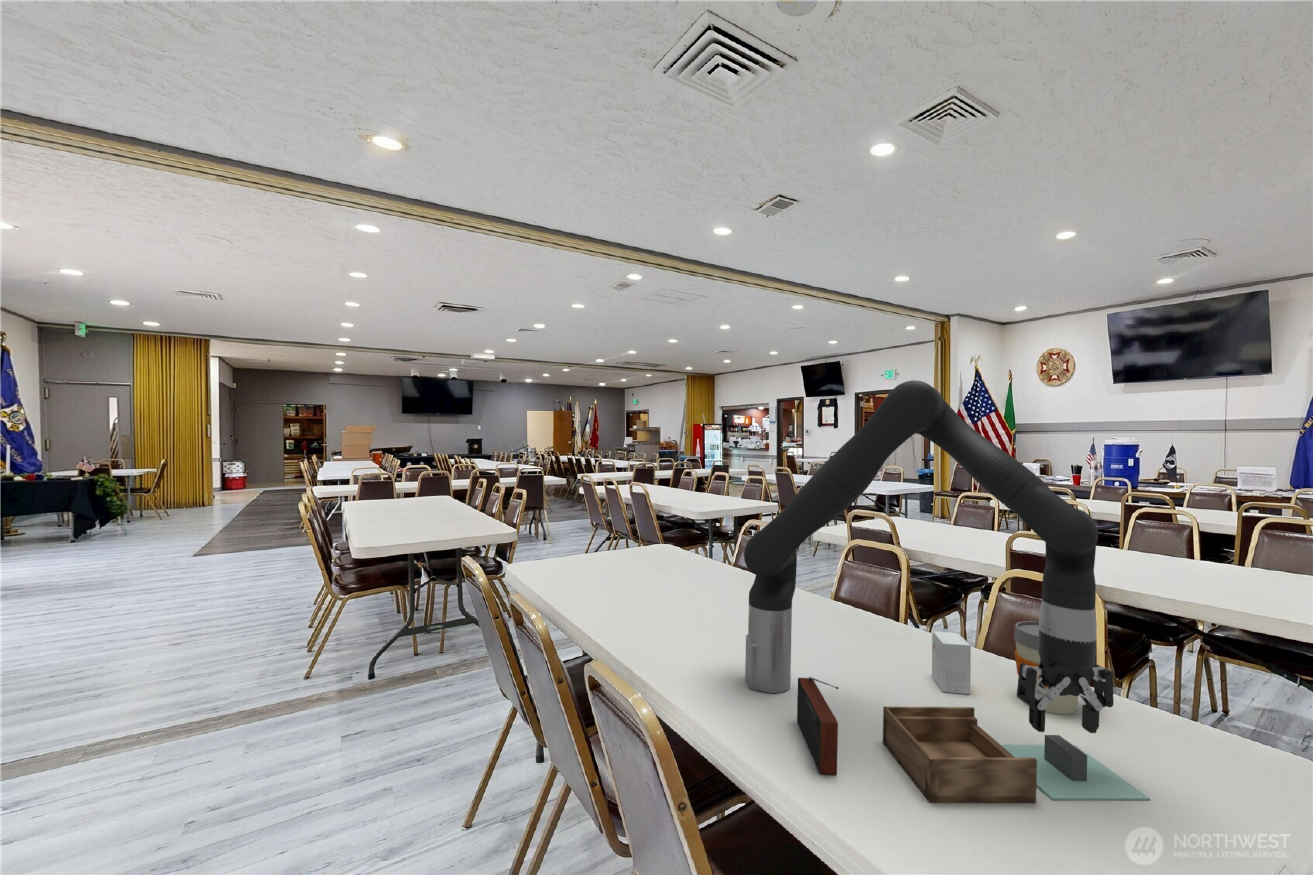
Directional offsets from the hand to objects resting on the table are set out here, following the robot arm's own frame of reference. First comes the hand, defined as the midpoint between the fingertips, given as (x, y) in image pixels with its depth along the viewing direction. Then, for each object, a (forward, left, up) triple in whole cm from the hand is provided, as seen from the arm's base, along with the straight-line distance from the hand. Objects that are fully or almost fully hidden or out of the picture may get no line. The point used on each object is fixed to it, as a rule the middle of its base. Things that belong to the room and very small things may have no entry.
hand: (1063, 730), depth 91 cm
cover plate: (0, 0, -7) cm, 7 cm away
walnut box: (-18, 0, -7) cm, 19 cm away
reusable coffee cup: (+15, +23, -7) cm, 28 cm away
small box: (-1, +31, -7) cm, 32 cm away
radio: (-39, +6, -7) cm, 40 cm away
